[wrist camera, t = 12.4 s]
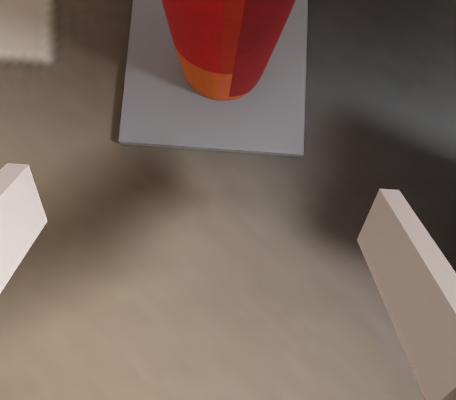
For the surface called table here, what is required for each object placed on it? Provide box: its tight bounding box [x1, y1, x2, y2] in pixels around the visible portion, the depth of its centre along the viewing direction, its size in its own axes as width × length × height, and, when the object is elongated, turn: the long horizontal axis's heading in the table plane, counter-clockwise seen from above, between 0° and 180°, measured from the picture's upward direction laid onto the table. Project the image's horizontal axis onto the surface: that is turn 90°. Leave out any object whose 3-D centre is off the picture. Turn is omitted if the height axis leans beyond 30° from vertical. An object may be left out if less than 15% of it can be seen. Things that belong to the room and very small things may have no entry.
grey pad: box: [118, 0, 308, 157], centre depth 23 cm, size 12×12×1 cm
